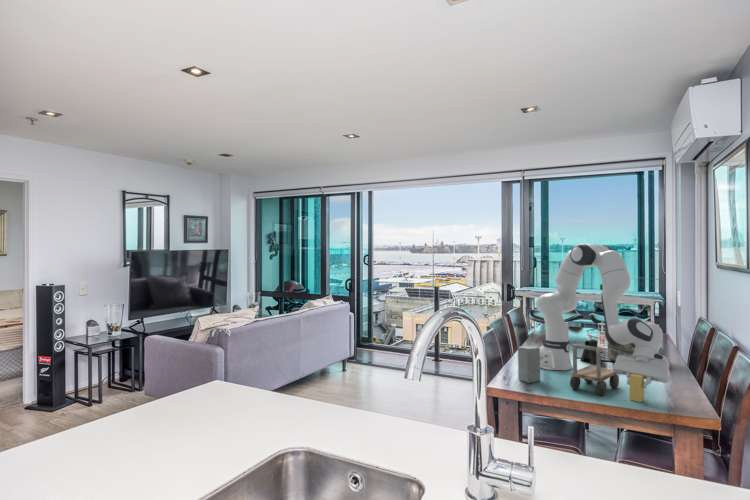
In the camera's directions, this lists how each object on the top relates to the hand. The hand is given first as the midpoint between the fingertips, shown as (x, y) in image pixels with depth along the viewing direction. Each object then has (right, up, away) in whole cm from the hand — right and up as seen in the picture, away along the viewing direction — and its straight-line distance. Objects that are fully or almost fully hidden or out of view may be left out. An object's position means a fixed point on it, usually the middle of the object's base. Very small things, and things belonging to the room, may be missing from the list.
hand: (636, 385), depth 182 cm
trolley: (-9, -6, +16) cm, 19 cm away
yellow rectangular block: (+1, -6, +1) cm, 6 cm away
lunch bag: (+35, -6, +61) cm, 71 cm away
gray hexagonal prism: (-34, -6, +29) cm, 45 cm away
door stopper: (+11, -6, +60) cm, 61 cm away
